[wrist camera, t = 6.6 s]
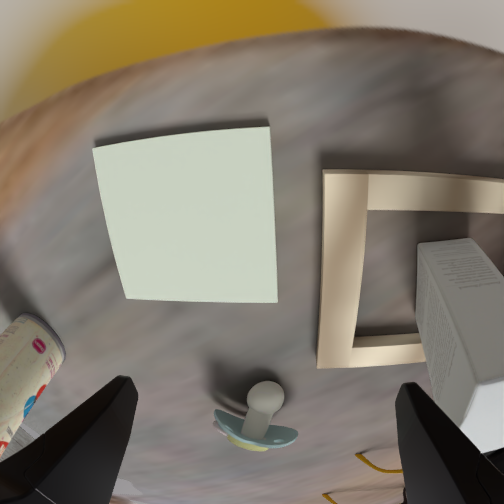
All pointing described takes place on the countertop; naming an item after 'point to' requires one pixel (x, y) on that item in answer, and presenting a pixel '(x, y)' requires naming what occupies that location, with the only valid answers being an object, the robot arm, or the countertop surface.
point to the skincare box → (463, 336)
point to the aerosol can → (25, 369)
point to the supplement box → (17, 443)
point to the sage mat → (192, 215)
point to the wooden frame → (353, 244)
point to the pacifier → (257, 420)
